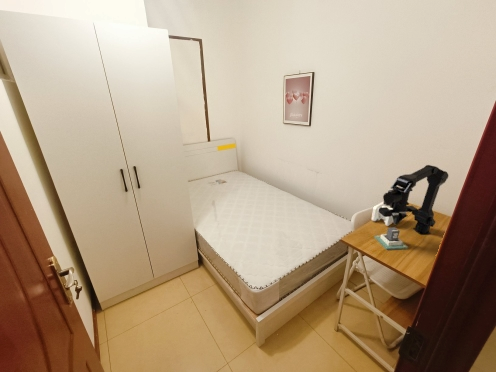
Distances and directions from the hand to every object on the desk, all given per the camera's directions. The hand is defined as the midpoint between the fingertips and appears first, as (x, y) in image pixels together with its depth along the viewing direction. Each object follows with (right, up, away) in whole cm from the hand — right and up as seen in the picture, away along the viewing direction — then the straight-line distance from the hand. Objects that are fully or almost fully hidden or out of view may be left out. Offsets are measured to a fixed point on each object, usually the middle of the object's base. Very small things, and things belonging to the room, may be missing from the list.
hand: (395, 224), depth 122 cm
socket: (0, -11, +4) cm, 12 cm away
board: (0, -11, +4) cm, 12 cm away
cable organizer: (+9, -2, +25) cm, 27 cm away
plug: (0, -10, +3) cm, 11 cm away
